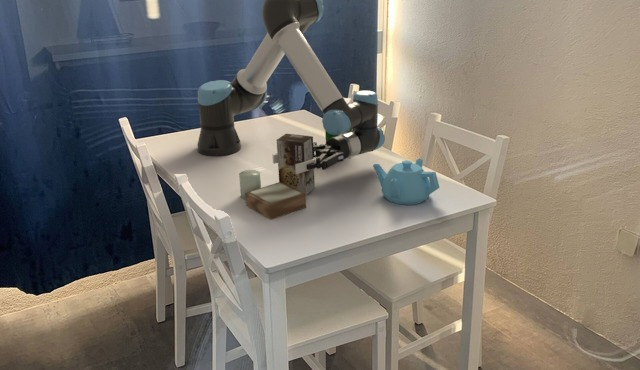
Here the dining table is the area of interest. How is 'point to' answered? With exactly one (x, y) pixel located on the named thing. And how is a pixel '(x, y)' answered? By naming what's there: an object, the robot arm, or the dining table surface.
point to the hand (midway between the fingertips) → (284, 164)
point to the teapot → (407, 182)
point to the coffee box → (295, 161)
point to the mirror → (275, 200)
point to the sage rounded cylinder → (249, 181)
